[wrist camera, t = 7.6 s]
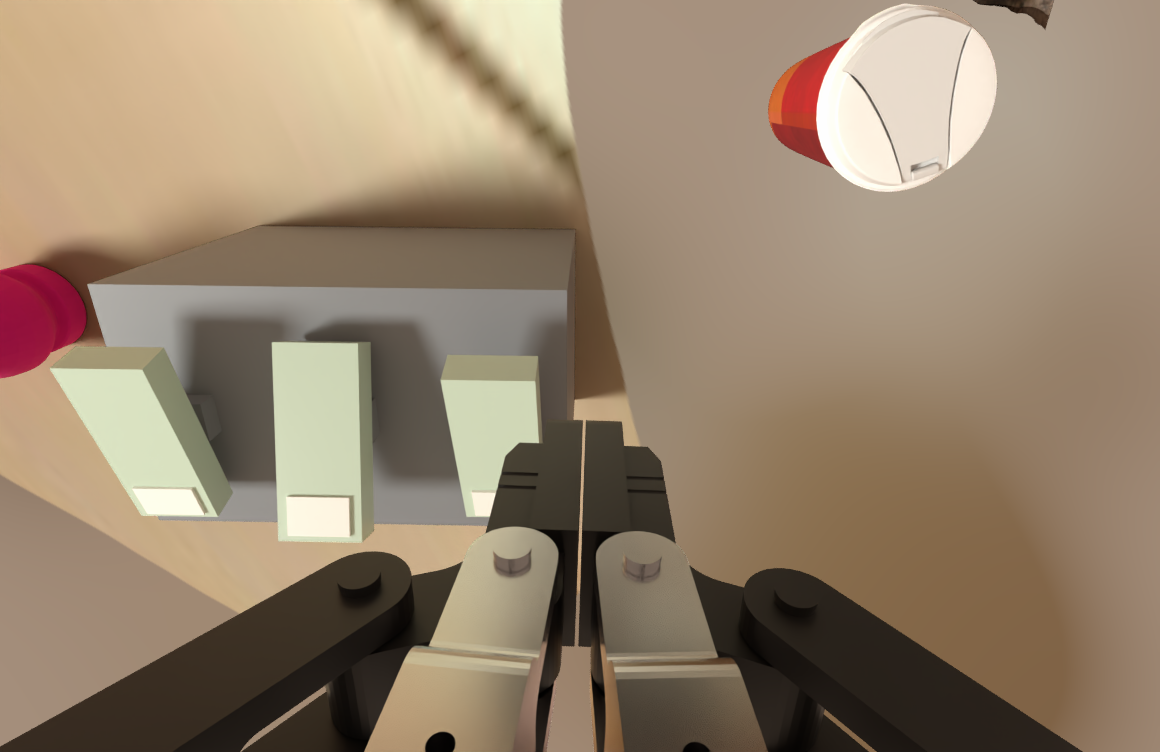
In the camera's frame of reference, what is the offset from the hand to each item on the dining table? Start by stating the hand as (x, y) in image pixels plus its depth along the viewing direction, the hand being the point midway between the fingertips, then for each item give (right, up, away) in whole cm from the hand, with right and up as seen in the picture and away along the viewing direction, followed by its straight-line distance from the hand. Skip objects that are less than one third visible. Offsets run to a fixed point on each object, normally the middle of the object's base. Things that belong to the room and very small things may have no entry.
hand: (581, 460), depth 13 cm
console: (-11, +6, +33) cm, 36 cm away
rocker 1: (-20, -1, +16) cm, 26 cm away
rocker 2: (-12, -1, +16) cm, 20 cm away
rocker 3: (-4, -1, +16) cm, 16 cm away
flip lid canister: (+15, +19, +27) cm, 37 cm away
